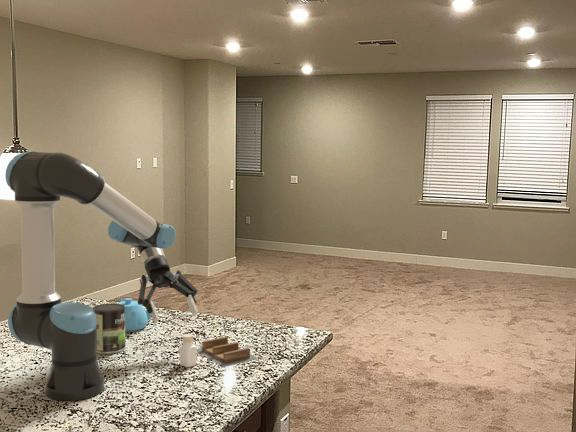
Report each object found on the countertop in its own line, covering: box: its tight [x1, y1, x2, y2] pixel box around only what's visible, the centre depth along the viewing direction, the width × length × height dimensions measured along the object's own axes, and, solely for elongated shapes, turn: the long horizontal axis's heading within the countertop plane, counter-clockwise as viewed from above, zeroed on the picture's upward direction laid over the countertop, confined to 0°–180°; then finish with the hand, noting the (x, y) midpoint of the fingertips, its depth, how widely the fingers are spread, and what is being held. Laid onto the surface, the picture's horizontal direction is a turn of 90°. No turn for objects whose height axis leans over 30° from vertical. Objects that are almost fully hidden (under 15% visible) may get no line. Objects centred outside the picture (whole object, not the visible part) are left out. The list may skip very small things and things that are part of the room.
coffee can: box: [92, 302, 127, 355], centre depth 204 cm, size 10×10×14 cm
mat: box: [196, 342, 259, 368], centre depth 201 cm, size 19×13×1 cm
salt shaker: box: [178, 333, 198, 368], centre depth 191 cm, size 4×4×10 cm
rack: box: [201, 336, 251, 364], centre depth 200 cm, size 15×9×3 cm, turn 37°
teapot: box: [116, 297, 157, 333], centre depth 229 cm, size 15×15×11 cm
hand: (176, 317), depth 197 cm, fingers open, 13 cm apart
